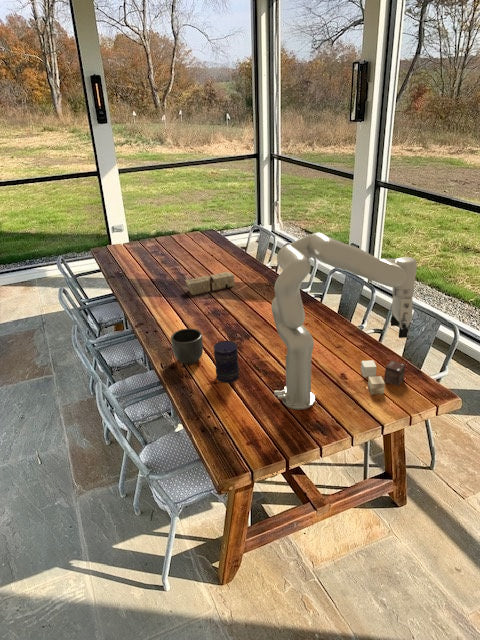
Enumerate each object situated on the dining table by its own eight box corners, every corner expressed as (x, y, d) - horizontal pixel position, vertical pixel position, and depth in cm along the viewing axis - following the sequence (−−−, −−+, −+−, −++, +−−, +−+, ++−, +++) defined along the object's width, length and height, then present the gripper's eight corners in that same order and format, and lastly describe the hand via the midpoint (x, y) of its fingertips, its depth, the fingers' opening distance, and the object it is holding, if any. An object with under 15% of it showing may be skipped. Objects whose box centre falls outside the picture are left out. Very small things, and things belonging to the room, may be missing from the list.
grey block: (363, 377, 192) (364, 367, 189) (360, 370, 196) (361, 360, 194) (375, 376, 192) (376, 366, 189) (372, 370, 196) (373, 360, 194)
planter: (170, 357, 215) (167, 332, 209) (198, 349, 220) (196, 325, 214) (179, 371, 204) (175, 346, 198) (208, 363, 208) (206, 338, 202)
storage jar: (217, 370, 203) (214, 340, 196) (239, 369, 202) (237, 340, 195) (215, 383, 194) (212, 352, 187) (239, 382, 193) (236, 352, 187)
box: (389, 375, 192) (391, 360, 189) (404, 379, 189) (406, 364, 185) (383, 381, 188) (385, 366, 185) (398, 386, 184) (400, 371, 181)
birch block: (370, 394, 181) (371, 384, 179) (367, 387, 185) (368, 376, 183) (383, 394, 181) (384, 383, 179) (380, 386, 185) (381, 376, 183)
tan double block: (229, 283, 296) (186, 291, 286) (229, 271, 292) (185, 278, 282) (234, 287, 289) (190, 296, 279) (234, 275, 285) (189, 282, 275)
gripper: (421, 299, 163) (416, 341, 171) (405, 281, 179) (401, 320, 186) (400, 300, 163) (396, 342, 171) (386, 282, 179) (382, 321, 186)
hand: (398, 331), depth 179 cm, fingers open, 9 cm apart
